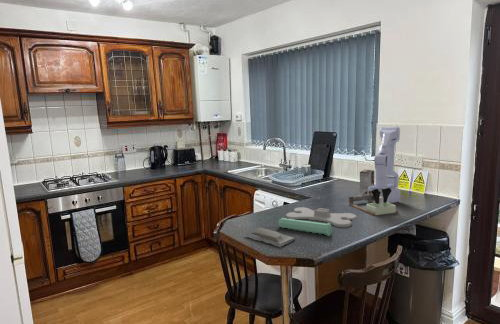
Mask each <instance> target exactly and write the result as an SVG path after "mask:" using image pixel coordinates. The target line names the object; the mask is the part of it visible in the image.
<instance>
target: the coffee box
mask: <svg viewBox="0 0 500 324" xmlns="http://www.w3.org/2000/svg"><path fill="white" fill-rule="evenodd" d="M374 185H375V170H374V169H373V170H372V169H363V170H361V171H359V195H368V194H372V192H371V191H369V190H368V187H370V186H374ZM372 197H374V196H373V194H372Z"/></svg>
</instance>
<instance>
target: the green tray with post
mask: <svg viewBox="0 0 500 324" xmlns="http://www.w3.org/2000/svg"><path fill="white" fill-rule="evenodd" d="M365 206H366V207H365V209H366V210H368V211H370V212H372V213H375V216H380V215H387V214H394V213H396V210H397V207H396V206H397V205H395V204H393V203H388V202H386V203H384V202H383V197H382V196H380V197H379V204H376V203H372V202H370V203H366V205H365Z"/></svg>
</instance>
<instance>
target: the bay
mask: <svg viewBox="0 0 500 324" xmlns="http://www.w3.org/2000/svg"><path fill="white" fill-rule="evenodd" d="M372 197H373V196H372V194H368V195H360V194H359V195H349V196H348V203H349V206H350V207H353V208H355V209H358V210H359V211H362V212H364V213H366V214H368V215H371V216H372V217H375V216H376V215H375V213H372V212H370V211H368V210H366V208H363V207H361V206H359V205H357V204H354V202H361V201H367V202H368V204H371V203H375V200H373V198H372ZM396 213H399V210H397V209H396Z"/></svg>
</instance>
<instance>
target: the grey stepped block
mask: <svg viewBox="0 0 500 324" xmlns="http://www.w3.org/2000/svg"><path fill="white" fill-rule="evenodd" d="M253 230H254V231H253ZM253 230H252V231H253V232H252V233H251V234H254V235H257V236H260V238H262V239H265V240H268V241H272V242H274V243H277V244H283V243H286V242H288V241H291V240H293V239H295V240H296V238H295V237H294V236H289V235H285V234H284V233H280V232H278V231H275V230H271V229H267V228H263V227H257V228H255V229H253Z"/></svg>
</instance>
